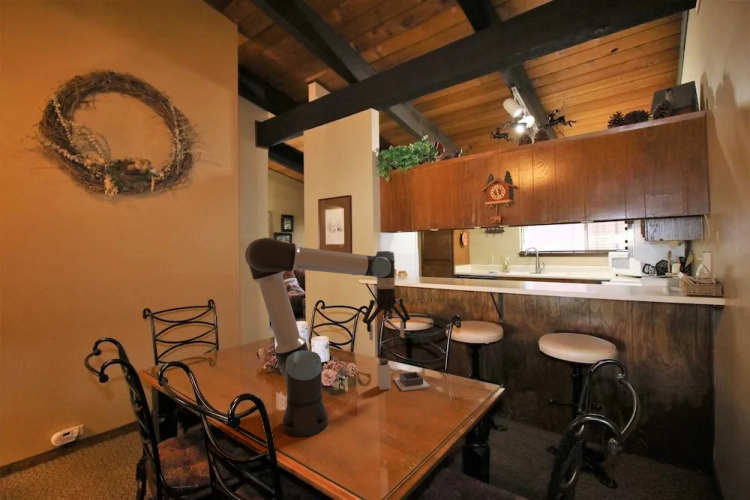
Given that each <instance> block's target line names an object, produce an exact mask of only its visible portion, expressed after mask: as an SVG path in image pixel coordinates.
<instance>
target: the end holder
mask: <svg viewBox="0 0 750 500" xmlns="http://www.w3.org/2000/svg"><path fill="white" fill-rule="evenodd" d="M393 381H394V383H395V384H396V385H397V386H398V389H400V391H401V392H407V391H408V392H409V391H415V390H423V389H424V390H425V389H430V388H431V387H430V384H429V383H428V382H427V381H426V380H425V378H424V377H423V376H422V375H421V374H420V373H419V372H418V371H411V372H410V371H409V372H402V373H400V372H399V377H393Z"/></svg>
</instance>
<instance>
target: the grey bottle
mask: <svg viewBox="0 0 750 500" xmlns="http://www.w3.org/2000/svg"><path fill="white" fill-rule="evenodd" d="M376 367H377V369H376V370H377V387H378V389H379V390H380V391H382V390H391V389H392V388H391V387H392V386H391V384H392V383H391V381H392V379H391V363H389V361H388V359H387V358H379V361H377V362H376Z"/></svg>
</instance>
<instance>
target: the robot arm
mask: <svg viewBox="0 0 750 500" xmlns="http://www.w3.org/2000/svg"><path fill="white" fill-rule="evenodd" d="M244 254H245V255H244V257H245V261H246V263H247V264H248V266H249V270H250V273H251V276H252V280H253V281H255V282H256V283H258V284H259V288H260V291H261V295H262V298H263V301H264V304H265V307H266V311H267V314H268V319H269V320H270V324H271V328H272V332H273V334H274V335H273V336H274V339H275V341H276V346H275V348H274V354H275V358H276V361H277V367H278V370H279V372H280V374H281V375H282V377H283V379H284V381H285V382H286V407H285V411H284V413H283V417H282V419H281V430H282V432H283V433H284V434H286V435H287V436H291V437H295V438H303V437H310V436H314V435H317V434H319V433H320V432H323V431H324V430H325V429H326V428H327V427H328V424H329V416H328V415H329V414H328V412H327V409H326V406H325V404H324V401H323V374H322V372H323V371H322V370H323V363H322V358H321V356H320V355H319V354H318V352H315V351H312V350H309V347H308V343H307V340H306V338H304V337H302V336H301V334H300V332H299V327H298V323H297V321H296V317H295V314H294V311H293V307H292V303H291V300H290V297H289V293H288V289H287V287H286V284H285V279H284V274H285V273H286V272H289V273H292V272H293V271H295V270H299V271H300V270H301V271H309V272H310V271H311V272H324V273H330V274H331V273H333V274H342V275H343V274H344V275H351V276H352V275H353V276H364V277H375V278H376V287H377V289H376V300H374V299H370V300H369V304H368V308H367V309H366V311H365V314H364V316H363V318H362V322H363V323H364V324H366V331H367V332H368V333H369V340H370V341H374V339H373V338H374V335H373V333H374V332H373V326H374V325H373V323H372V322H373V321H374V320H375V319H376V318H377V316H378V314H379V313H380V312H381V311H392V310H393V312H394V313H395V314H396V315H397V316H398V317H399V319H400V321H399V328H400V329H399V330H400V333H399V334H400V335H399V336H400V337H401V338H402V339H404V338H405V330H406V329H407V322H408V321H410V320H411V317H410V314H409V313H408V311H407V308H406V307H405V305H404V301H403V299H402V298H400V297H398V298H396V288H395V287H396V285H395V283H396V280H395V278H396V277H395V276H396V274H395V272H396V271H395V267H396V266H395V262H396V261H395V253H394V251H392V250H383V251H382V250H380V251H376V253H375V255H366V254H358V253H351V252H343V251H336V250H335V251H333V250H325V249H319V248H318V249H317V248H309V247H303V246H302V247H301V246H297V244H296V243H293V242H288V241H287V242H286V241H282V240H280V239H275V238H272V237H262V238H257V239H254V240H253V241H251V242H249V244H248V246H247V248H246V249H245V253H244ZM396 303H397V304H398V306H399V308H400V309H401V312H402V313H403V314H402V313H401V312H400V311H399V310H398V308H397V307H396V306H395V304H396ZM376 304H377V307H376V308H375V310H374V311H373V309H374V306H375V305H376ZM372 311H373V312H372ZM403 315H404V316H403Z"/></svg>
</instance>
